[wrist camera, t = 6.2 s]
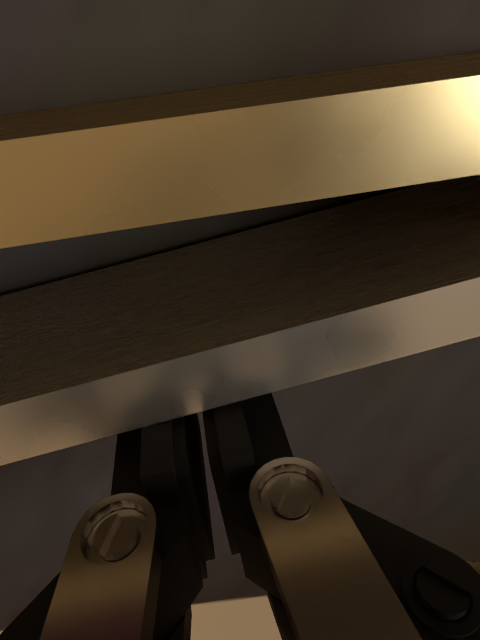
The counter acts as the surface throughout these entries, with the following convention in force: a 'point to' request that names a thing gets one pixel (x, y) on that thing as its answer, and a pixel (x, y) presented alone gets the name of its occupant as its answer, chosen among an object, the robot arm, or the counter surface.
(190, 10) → the counter surface
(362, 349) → the open leaf
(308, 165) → the fixed leaf
